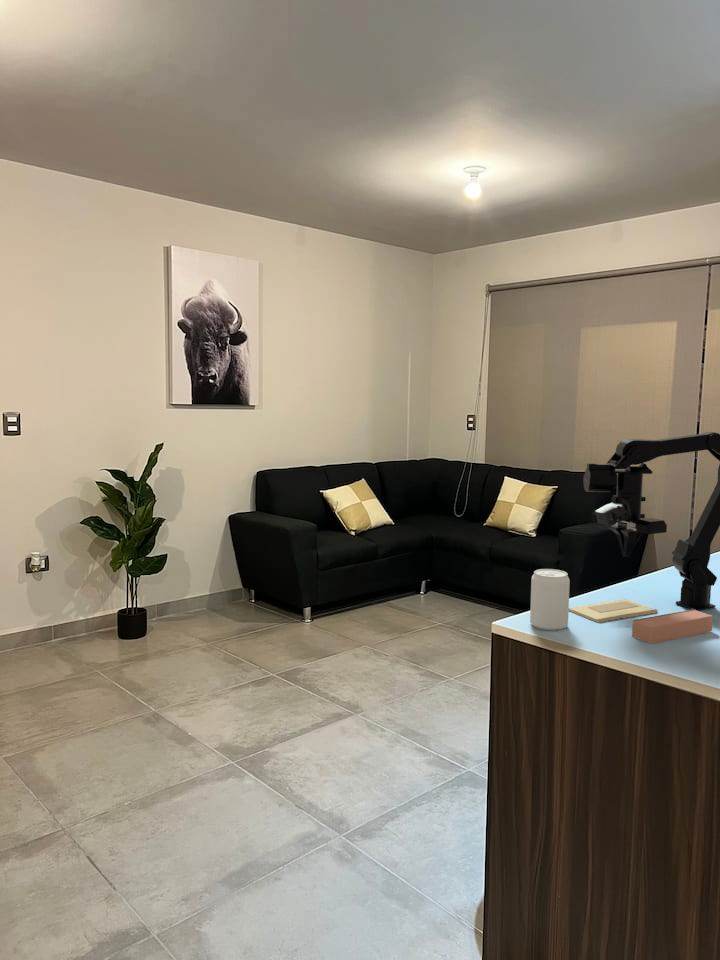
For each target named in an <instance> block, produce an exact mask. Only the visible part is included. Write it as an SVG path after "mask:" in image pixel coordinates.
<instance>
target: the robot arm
mask: <svg viewBox="0 0 720 960" xmlns="http://www.w3.org/2000/svg"><path fill="white" fill-rule="evenodd" d="M698 451H699V452H700V451H708V452H709V453H710V454H711V456H712V457H714V458H715V460H717V461H718V462H720V433H719V432H713V431H704V432H702V433H698V434H697V433H695V434H691V435H689V434H688V435H683V436H675V437H667V438H661V439H659V438H658V439H644V438H641V439H640V438H625V439H622V440H620V441H619V443H618V444H617V445H616V448H615V452H613V454H612V456H611V457H610V458H609V460H607V462H606V463H594V462H588V463H586V468H585V471H584V475H583V488H584V491H585V492H588V493H590V492H591V493H595V492H597V493H610V492H612V491H613V489H615V488H616V495H612V497H611V498H610V499H611V501H610V503H607V504H605V505H603V506H601V507H599V508H598V509H595V510H594V511H592V513H591V522H594V523H598V524H599V525H601V524H602V525H606V526H607V529H609V530H611V531H612V532H613V533H615V535H616V537H617V540H618V543H619V547H620V550H621V554H622V556H623V557H627V558H629V557H630V555H631V553H632V551H633V550H634V548H635V547H636V545H637V543H638V542H639V540H640V538H641V537H642V536H643V534H645V535H655V534H664V533H667V529H668V528H667V525H668V523H667V522H666V521H665V520H663V519H659V518H653V517H651V518H650V517H649V518H645V515H646V514H645V513H642V502H646V500H647V499H646V496H644V495H643V480H644V479H643V478H644V475H652V474H653V470H652V469H650V468H649V467H648V465H647V464H646V462H650V461H653V460H654V459H657V458H660V457H663V456H664V457H665V456H670V455H677V454H684V453H685V454H686V453H694V452H698ZM637 465H638V466H637ZM719 528H720V464H719V465H718V468H717V482H716V484H715V486H714V488H713V491H712V493H711V495H710V497H709V499H708V500H707V502H706V505H705V507H704V509H703V511H702V513H701V515H700V517H699V519H698V521H697V523H696V525H695V527H694V529H693V531H692V533H691V535H690V536H689V537H688V538H687V539H686V540H683V539H678V540H677V543H676V546H675V549H674V550H672V552H671V555H673V556H672V559H671V560H672V561H671V562H672V565H673V567H674V568H675V570H677V571H678V573H679V576H680V577H681V578H683V580H682V582H681V588H680V600H677V601H675V604H676V605H679V606H682V607H685V608H687V609H689V610H693V609H695V610H696V611H703V610H708V609H713V608H714V609H715V608H716V605H715V604H712V603H711V596H712V595H711V594H712V593H711V592H712V590H711V589H712V586H715V584H716V582H717V580H718V578H717V576H716V575H715V574H714V572H713V571H712V570H710V569H709V568H708V566H709V563H710V559H711V546H712V543H713V540H714V538H715V536H716V534H717V533H718V530H719Z"/></svg>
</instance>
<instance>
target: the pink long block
mask: <svg viewBox="0 0 720 960" xmlns="http://www.w3.org/2000/svg"><path fill="white" fill-rule="evenodd" d="M713 617H714V616H713V615H711V614H709V613H705V612H702V611H700V610H695V609H688V610H682V611H676V612H670V613H664V614H659V615H654V616H648V617H644V618H637V619H632V632H631V637H634V638H635V637H636V638H635V639H638V638H639V639H638V640H640V641H643V642H645V643H648V644H651V645H652V644H655V643H661V642H665V641H671V640H677V639H682V638H686V636H687V637H692V636H696V634H697V635H702V634H707V633H711V632H710V631H712V632H713V621H714V620H713V619H714V618H713ZM706 632H707V633H706ZM701 633H702V634H701ZM676 638H677V639H676Z"/></svg>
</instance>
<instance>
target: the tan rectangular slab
mask: <svg viewBox="0 0 720 960" xmlns="http://www.w3.org/2000/svg"><path fill="white" fill-rule="evenodd" d="M568 612H571V613H573V614H576V615H578V616H580V617H583V618H585V619H588V620H590V619H591V621H593V622H595V621H596V622H595V623H598V622H600V623H605V622H604V621H606V622H609V621H608V620H612V621H615V620H614V619H617V620H621V619H620V618H623V619H627V618H626V617H629V618H633V617H632V616H635V617H639V615H641V616H646V615H650V614H651V613H652V614H657V613H658V609H657V608H653V607H649V606H647V605H643V604H641V603H639V602H635V601H632V600H630V599H626V598H625V599H624V598H623V599H616V600H612V601H604V602H598V603H592V604H585V605H578V606H572V607H569V611H568Z"/></svg>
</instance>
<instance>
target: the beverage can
mask: <svg viewBox="0 0 720 960" xmlns="http://www.w3.org/2000/svg"><path fill="white" fill-rule="evenodd" d="M568 575H569V574H568V572H566V571H564V570H560V569H554V568H539V569H536V570H534V571H533V574H532V576H531V582H530V584H531V585H530V609H529V610H530V615H529V616H530V617H529V622H530V624H531V625H532V626H534V627H535V628H538V629H540V630H543V629H544V631H559V630H562V629H566V628H567V627H568V625H569V612H570V611H569V608H570V604H569V603H570V585H571V584H570V581H571V580H570V578H569V576H568Z"/></svg>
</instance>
